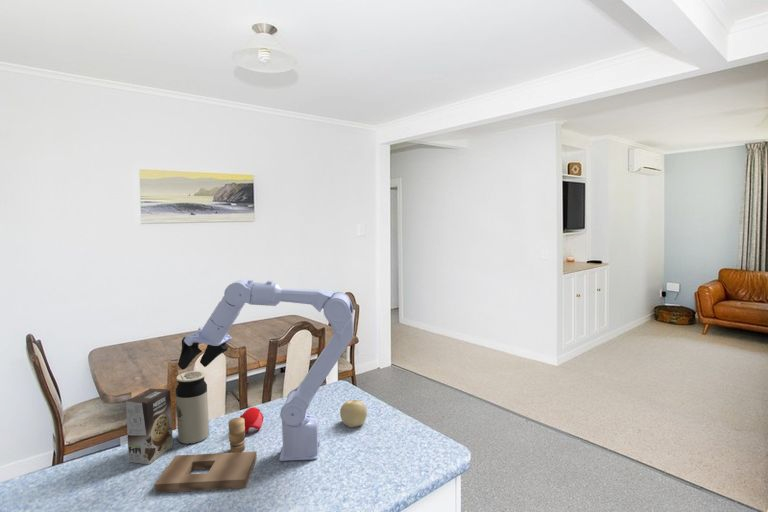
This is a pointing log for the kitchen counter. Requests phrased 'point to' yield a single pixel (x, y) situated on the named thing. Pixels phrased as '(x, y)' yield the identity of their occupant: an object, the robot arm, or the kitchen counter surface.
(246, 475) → the walnut board
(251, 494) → the kitchen counter surface
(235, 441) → the oak peg
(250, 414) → the cap
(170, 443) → the coffee box
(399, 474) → the kitchen counter surface
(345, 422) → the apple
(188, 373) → the travel mug
